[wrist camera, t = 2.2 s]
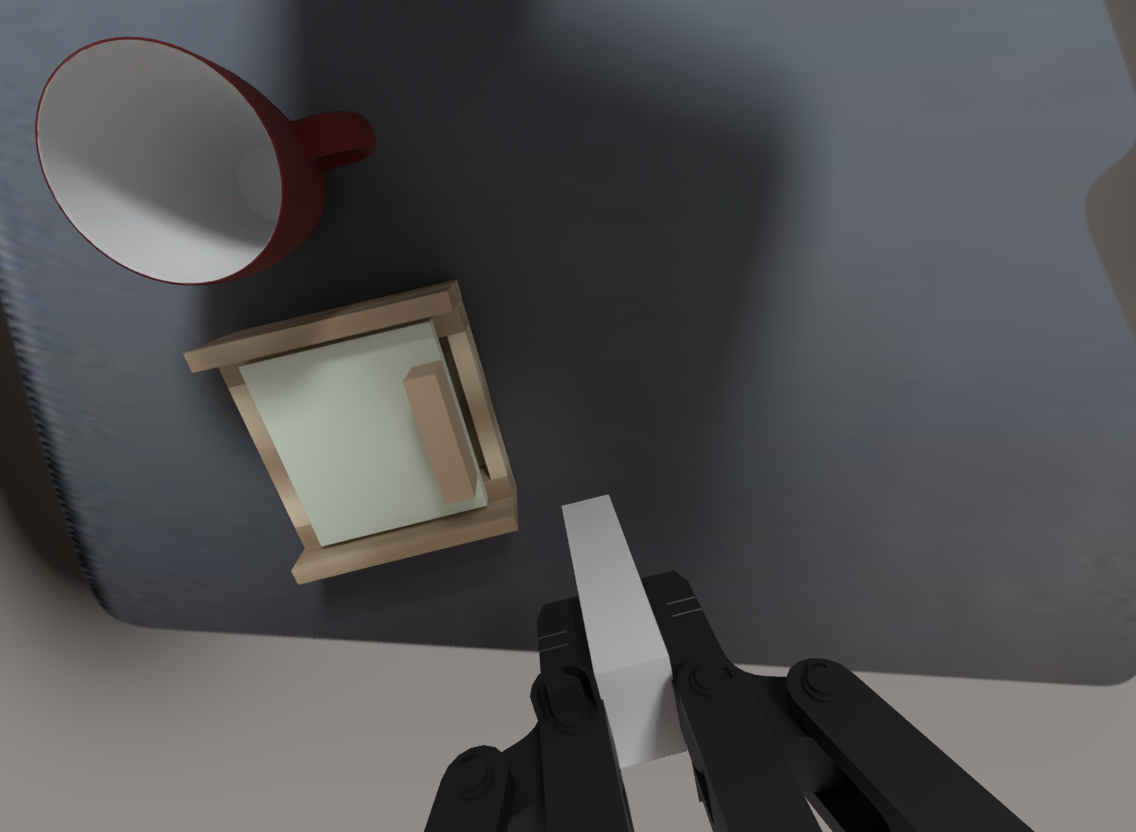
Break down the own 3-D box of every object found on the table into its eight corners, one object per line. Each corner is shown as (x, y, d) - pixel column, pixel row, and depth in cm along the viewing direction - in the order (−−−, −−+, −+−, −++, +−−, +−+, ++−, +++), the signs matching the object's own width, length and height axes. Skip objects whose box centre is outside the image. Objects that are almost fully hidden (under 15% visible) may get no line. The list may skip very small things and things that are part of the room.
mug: (339, 43, 26) (247, -53, 17) (426, 201, 29) (388, 194, 20) (158, 145, 27) (-26, 107, 18) (261, 290, 30) (149, 323, 20)
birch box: (234, 331, 30) (182, 353, 26) (456, 279, 31) (447, 290, 26) (326, 534, 35) (298, 584, 31) (516, 487, 36) (518, 530, 31)
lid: (247, 362, 28) (210, 382, 25) (431, 318, 28) (421, 332, 25) (326, 537, 32) (305, 575, 29) (487, 497, 32) (485, 530, 29)
